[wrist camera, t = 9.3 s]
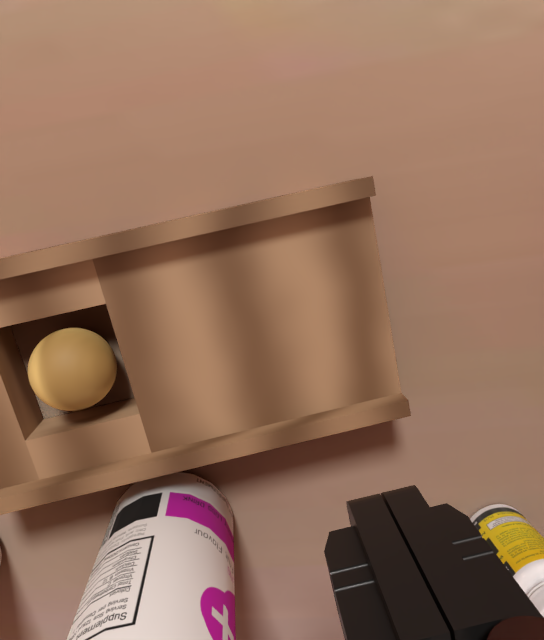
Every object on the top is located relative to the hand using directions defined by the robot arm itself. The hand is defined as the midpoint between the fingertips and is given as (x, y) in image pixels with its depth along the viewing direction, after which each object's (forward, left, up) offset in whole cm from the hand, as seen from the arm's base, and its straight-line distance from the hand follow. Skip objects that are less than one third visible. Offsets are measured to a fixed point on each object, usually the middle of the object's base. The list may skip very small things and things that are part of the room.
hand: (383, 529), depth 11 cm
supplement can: (+10, +13, -22) cm, 27 cm away
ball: (+13, 0, -19) cm, 23 cm away
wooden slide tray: (+7, 0, -22) cm, 23 cm away
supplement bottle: (-12, +20, -22) cm, 32 cm away
